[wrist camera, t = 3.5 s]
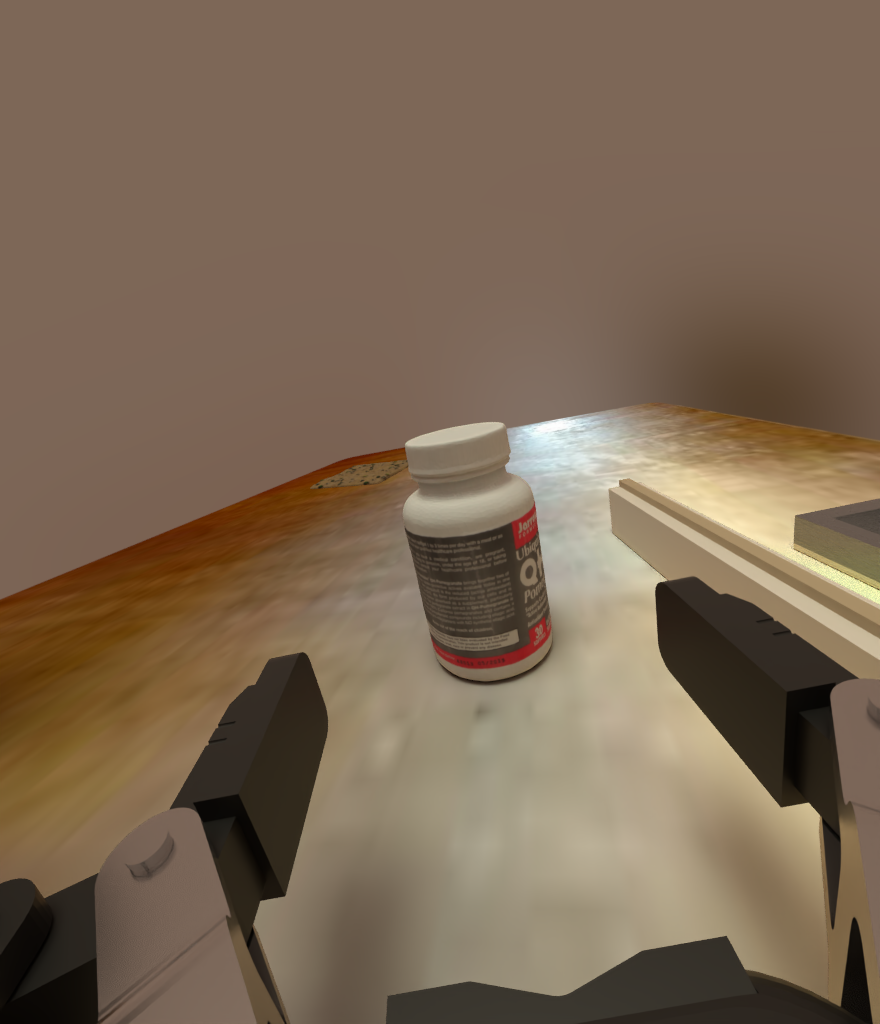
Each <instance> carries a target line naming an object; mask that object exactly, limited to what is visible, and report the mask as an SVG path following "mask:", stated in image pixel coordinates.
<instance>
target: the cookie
mask: <svg viewBox="0 0 880 1024" xmlns="http://www.w3.org/2000/svg"><path fill="white" fill-rule="evenodd" d="M407 467H409V465H408V460H403V461H394V462H384V463H374V464H364V465H358V466H353V467H352V468H349V469H346V470H345V471H344V472H341V473H339V474H337V475H335V476H333V477H331V478H327V479H324V480H320V482H318V483H317V484H316V485H313V486H312V487H311V488H310V489H319V488H331V487H344V486H358V485H371V484H379V483H381V482H383V481H384V480H386V479H388V478H389V477H391V476H393V475H395V474H397V473H398V472H400V471H402V470H403V469H405V468H407Z"/></svg>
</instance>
